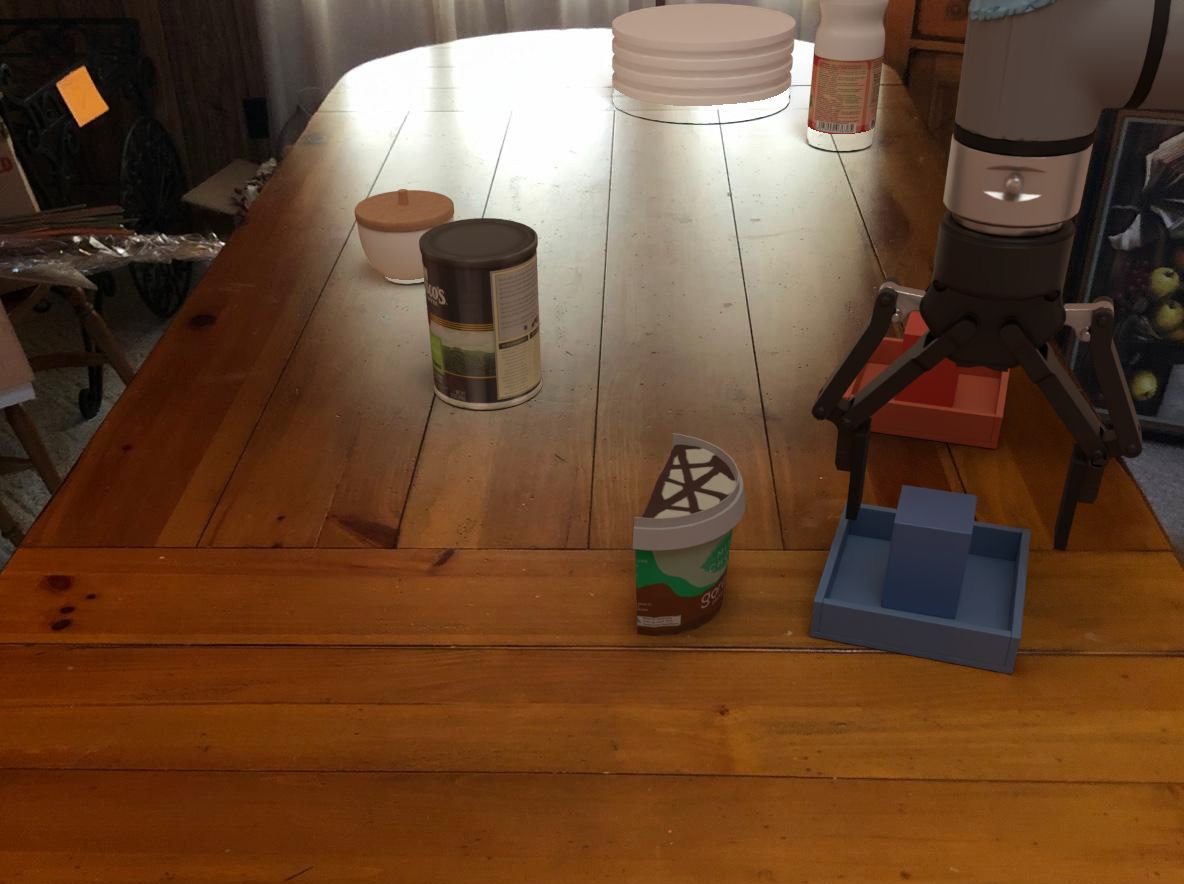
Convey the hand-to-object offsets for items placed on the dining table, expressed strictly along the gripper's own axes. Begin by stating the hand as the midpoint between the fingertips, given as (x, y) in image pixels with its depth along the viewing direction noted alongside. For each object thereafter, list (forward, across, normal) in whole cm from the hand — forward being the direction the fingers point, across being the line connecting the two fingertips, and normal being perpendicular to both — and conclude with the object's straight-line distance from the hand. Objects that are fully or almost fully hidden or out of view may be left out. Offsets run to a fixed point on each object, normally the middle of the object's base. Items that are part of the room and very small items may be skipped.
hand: (954, 524), depth 83 cm
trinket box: (+5, -62, +44) cm, 76 cm away
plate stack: (+6, -49, +124) cm, 133 cm away
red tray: (+6, -4, +29) cm, 30 cm away
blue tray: (+6, -1, -1) cm, 6 cm away
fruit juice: (+6, -24, +106) cm, 109 cm away
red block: (+5, -4, +29) cm, 30 cm away
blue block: (+5, -1, -1) cm, 6 cm away
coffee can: (+5, -43, +21) cm, 48 cm away
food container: (+6, -16, -6) cm, 18 cm away
